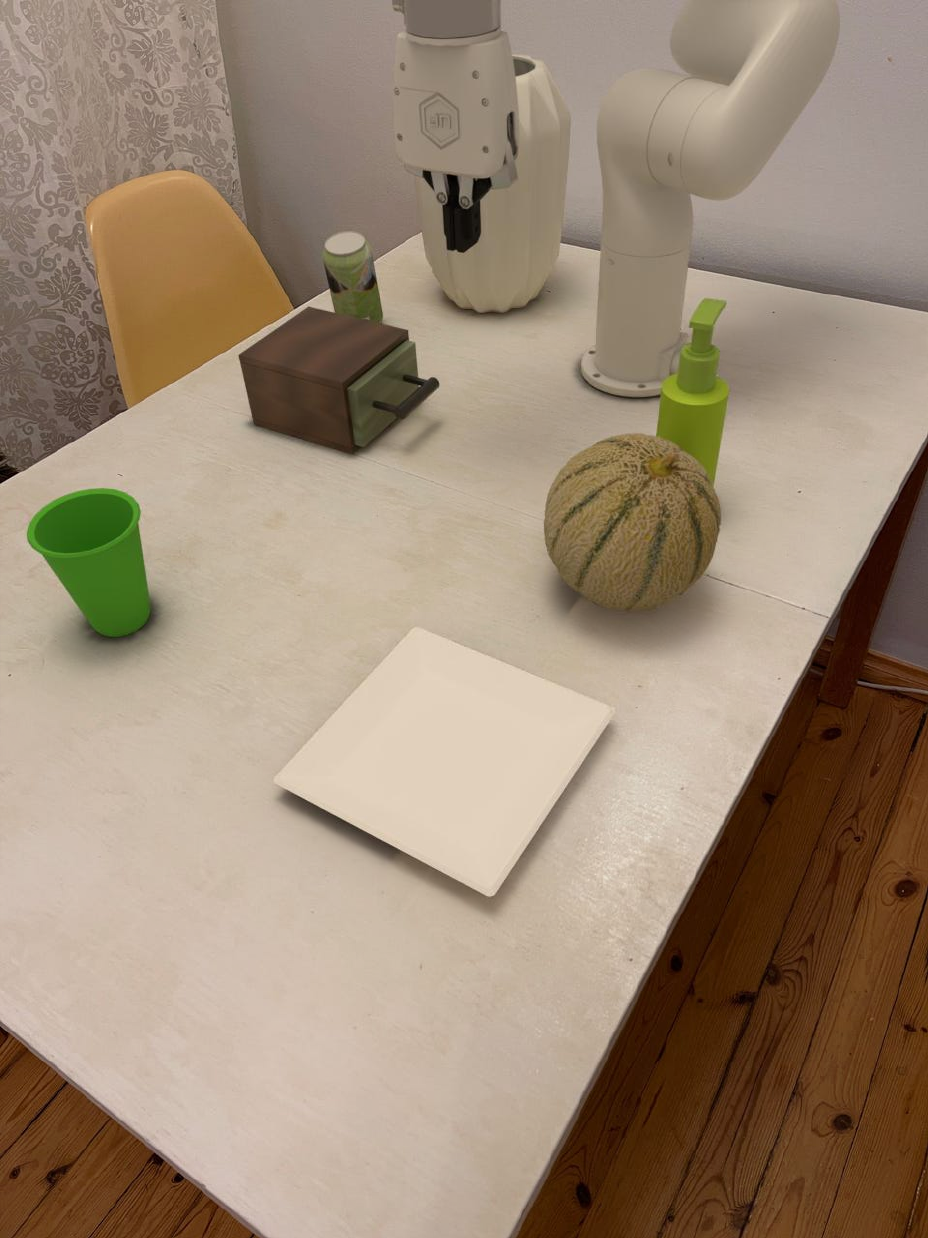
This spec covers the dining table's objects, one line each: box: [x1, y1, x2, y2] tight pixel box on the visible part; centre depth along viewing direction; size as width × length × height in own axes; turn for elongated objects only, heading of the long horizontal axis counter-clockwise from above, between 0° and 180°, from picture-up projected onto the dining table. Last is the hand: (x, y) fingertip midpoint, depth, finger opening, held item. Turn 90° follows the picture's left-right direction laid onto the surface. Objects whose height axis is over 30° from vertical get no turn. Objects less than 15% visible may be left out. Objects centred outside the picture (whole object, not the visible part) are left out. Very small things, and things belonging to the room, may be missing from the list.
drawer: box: [347, 340, 441, 448], centre depth 106 cm, size 17×11×7 cm
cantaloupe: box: [543, 432, 722, 612], centre depth 81 cm, size 15×15×15 cm
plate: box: [272, 626, 617, 898], centre depth 72 cm, size 19×19×2 cm
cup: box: [26, 487, 152, 638], centre depth 82 cm, size 9×9×11 cm
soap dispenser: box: [655, 297, 730, 488], centre depth 88 cm, size 6×7×20 cm
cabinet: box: [237, 306, 410, 455], centre depth 107 cm, size 14×13×9 cm
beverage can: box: [322, 230, 384, 324], centre depth 121 cm, size 6×7×12 cm
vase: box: [413, 53, 572, 314], centre depth 121 cm, size 20×20×28 cm
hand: (463, 245), depth 88 cm, fingers closed
